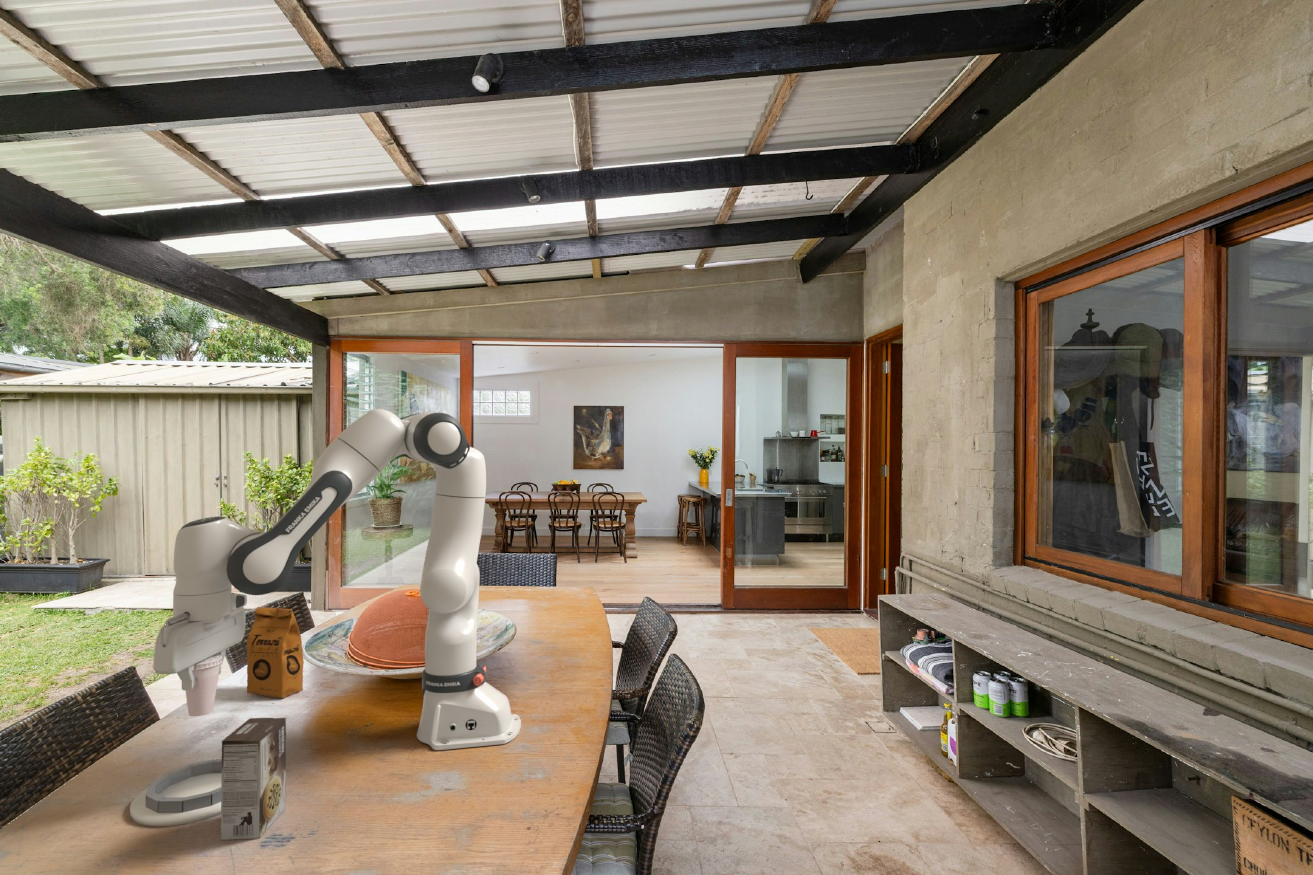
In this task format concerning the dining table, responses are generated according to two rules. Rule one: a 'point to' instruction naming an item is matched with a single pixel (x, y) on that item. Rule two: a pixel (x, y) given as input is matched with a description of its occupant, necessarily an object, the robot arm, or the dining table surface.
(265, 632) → the coffee package
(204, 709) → the smoothie
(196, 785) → the ring plate
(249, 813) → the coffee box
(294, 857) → the dining table surface
